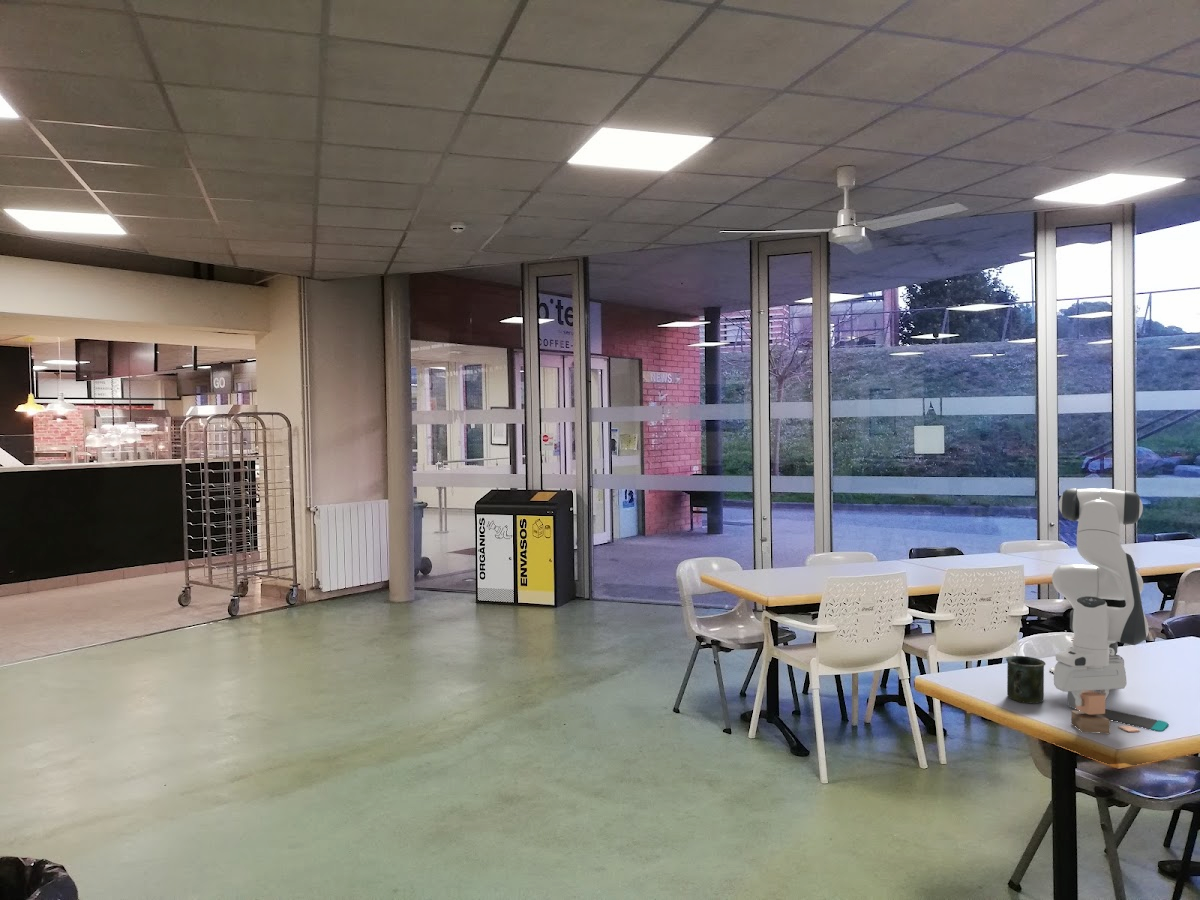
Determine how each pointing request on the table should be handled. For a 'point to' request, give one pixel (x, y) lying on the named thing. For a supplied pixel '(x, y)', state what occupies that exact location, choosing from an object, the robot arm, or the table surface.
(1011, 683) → the mug
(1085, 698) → the terracotta cube
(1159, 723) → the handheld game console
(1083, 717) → the walnut block
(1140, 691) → the table surface
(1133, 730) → the tile
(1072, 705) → the grey cube
